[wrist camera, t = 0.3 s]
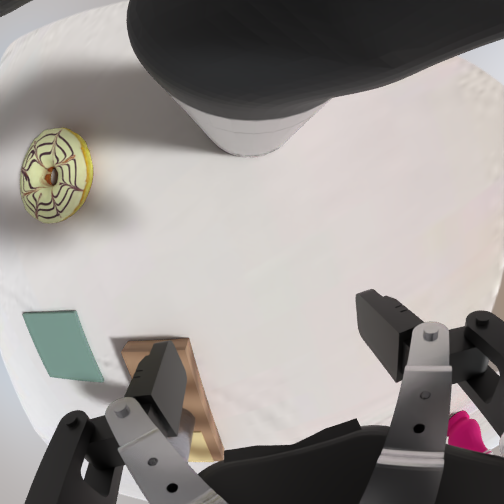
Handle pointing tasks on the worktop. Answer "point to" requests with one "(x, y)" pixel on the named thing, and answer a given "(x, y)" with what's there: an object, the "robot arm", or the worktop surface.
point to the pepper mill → (465, 433)
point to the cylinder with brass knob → (184, 434)
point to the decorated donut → (69, 175)
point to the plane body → (186, 398)
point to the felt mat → (63, 345)
